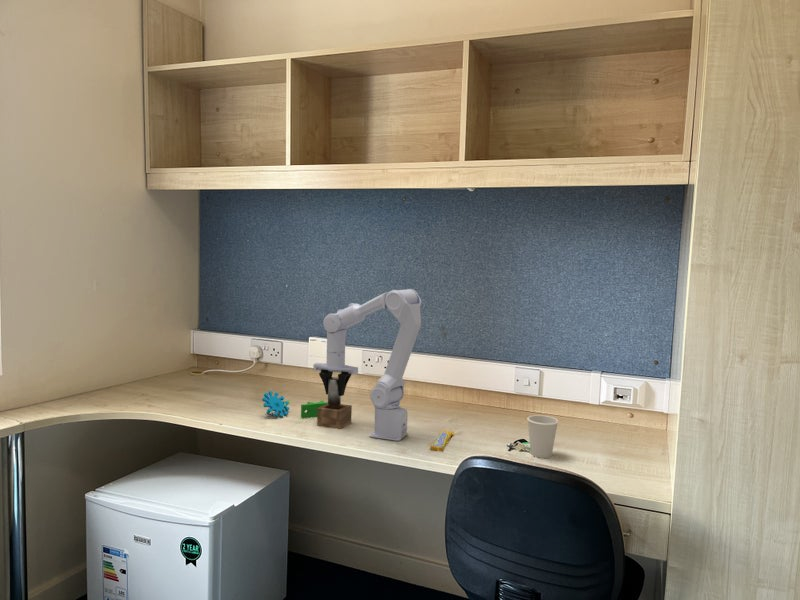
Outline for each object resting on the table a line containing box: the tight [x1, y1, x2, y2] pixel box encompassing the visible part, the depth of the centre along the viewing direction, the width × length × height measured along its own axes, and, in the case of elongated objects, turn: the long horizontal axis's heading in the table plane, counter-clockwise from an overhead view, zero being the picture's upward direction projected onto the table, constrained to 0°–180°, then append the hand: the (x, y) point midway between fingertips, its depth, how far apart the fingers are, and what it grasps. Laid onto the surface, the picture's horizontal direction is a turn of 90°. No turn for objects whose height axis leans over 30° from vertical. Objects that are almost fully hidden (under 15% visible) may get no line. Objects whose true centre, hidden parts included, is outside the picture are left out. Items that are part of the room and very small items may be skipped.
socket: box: [316, 403, 353, 430], centre depth 190 cm, size 8×8×6 cm
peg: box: [327, 376, 342, 405], centre depth 189 cm, size 4×4×8 cm
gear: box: [261, 390, 291, 418], centre depth 199 cm, size 11×6×10 cm
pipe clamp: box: [300, 400, 328, 419], centre depth 199 cm, size 11×4×5 cm, turn 116°
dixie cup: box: [527, 414, 559, 459], centre depth 166 cm, size 8×8×10 cm
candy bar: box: [429, 430, 455, 452], centre depth 175 cm, size 17×4×2 cm, turn 164°
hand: (335, 394), depth 189 cm, fingers closed on peg, 4 cm apart
